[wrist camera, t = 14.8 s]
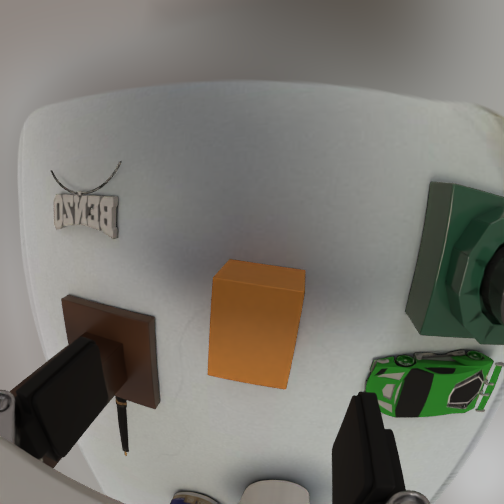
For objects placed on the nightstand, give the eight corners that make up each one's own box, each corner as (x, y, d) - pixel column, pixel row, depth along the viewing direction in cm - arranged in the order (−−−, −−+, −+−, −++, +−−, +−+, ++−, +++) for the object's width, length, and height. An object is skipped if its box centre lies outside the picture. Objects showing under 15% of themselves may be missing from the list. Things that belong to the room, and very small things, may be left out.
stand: (68, 294, 22) (-101, 401, 5) (155, 316, 21) (-25, 498, 4) (82, 374, 24) (-38, 493, 7) (160, 402, 23) (52, 566, 6)
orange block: (229, 258, 19) (212, 277, 15) (305, 269, 18) (305, 291, 15) (222, 345, 20) (207, 375, 17) (290, 357, 20) (286, 389, 16)
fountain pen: (127, 451, 27) (136, 460, 26) (119, 456, 26) (128, 464, 25) (122, 350, 23) (132, 359, 23) (110, 354, 22) (121, 364, 22)
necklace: (124, 238, 20) (125, 160, 18) (119, 240, 19) (120, 161, 17) (56, 228, 20) (55, 162, 19) (50, 230, 20) (48, 162, 18)
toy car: (359, 406, 20) (362, 427, 18) (371, 351, 19) (377, 371, 16) (473, 397, 18) (483, 414, 16) (493, 346, 17) (506, 362, 15)
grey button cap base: (430, 181, 16) (470, 184, 11) (525, 206, 15) (572, 218, 10) (404, 311, 18) (429, 352, 13) (498, 319, 17) (533, 353, 12)
